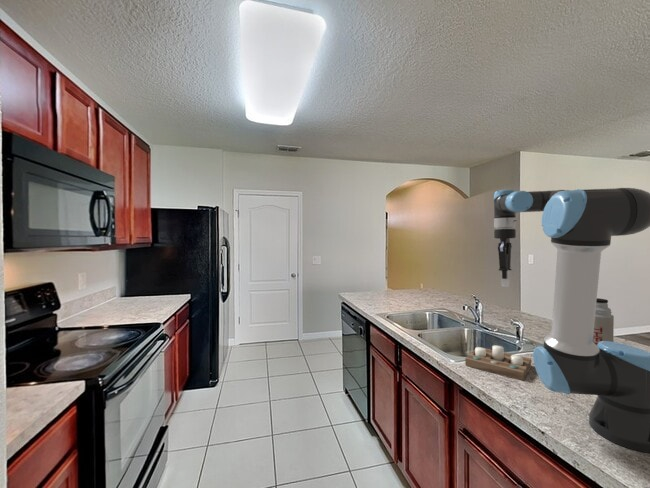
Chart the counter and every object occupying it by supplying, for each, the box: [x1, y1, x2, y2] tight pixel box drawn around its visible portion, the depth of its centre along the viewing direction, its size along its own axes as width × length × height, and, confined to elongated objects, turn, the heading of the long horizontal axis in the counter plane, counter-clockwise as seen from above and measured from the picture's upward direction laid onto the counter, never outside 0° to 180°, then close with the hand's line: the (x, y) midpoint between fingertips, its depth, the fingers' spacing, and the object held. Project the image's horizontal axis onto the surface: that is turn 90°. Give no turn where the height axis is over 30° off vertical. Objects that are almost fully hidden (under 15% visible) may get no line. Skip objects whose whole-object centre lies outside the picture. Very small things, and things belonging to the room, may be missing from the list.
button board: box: [464, 347, 532, 381], centre depth 123 cm, size 16×20×3 cm
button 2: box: [491, 344, 505, 361], centre depth 123 cm, size 4×4×5 cm
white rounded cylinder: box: [474, 346, 487, 358], centre depth 128 cm, size 4×4×5 cm
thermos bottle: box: [593, 298, 615, 345], centre depth 114 cm, size 8×8×28 cm
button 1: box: [511, 354, 524, 366], centre depth 119 cm, size 4×4×5 cm
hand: (505, 286), depth 125 cm, fingers closed
